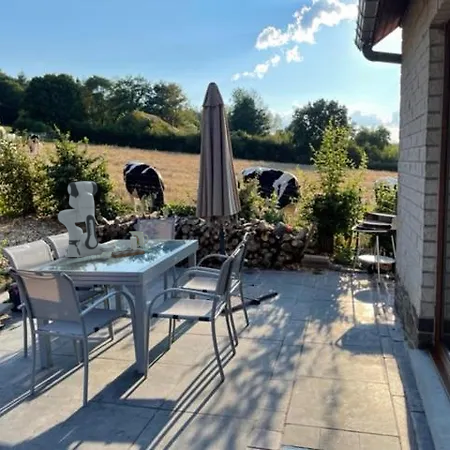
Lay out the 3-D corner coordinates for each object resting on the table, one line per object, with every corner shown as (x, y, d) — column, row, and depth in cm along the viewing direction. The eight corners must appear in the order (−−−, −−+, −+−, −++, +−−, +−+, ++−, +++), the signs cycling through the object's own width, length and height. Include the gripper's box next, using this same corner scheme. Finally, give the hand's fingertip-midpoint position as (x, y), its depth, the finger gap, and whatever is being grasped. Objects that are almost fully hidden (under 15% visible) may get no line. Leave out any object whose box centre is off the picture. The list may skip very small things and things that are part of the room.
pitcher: (146, 247, 417) (145, 232, 415) (127, 247, 420) (126, 232, 419) (150, 245, 427) (150, 230, 426) (132, 245, 431) (131, 230, 429)
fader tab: (133, 252, 383) (132, 237, 381) (130, 251, 388) (129, 237, 386) (137, 251, 385) (137, 237, 383) (135, 250, 390) (134, 236, 388)
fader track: (115, 257, 372) (115, 253, 372) (111, 256, 381) (110, 251, 380) (144, 253, 386) (144, 249, 386) (139, 252, 394) (139, 247, 394)
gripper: (102, 246, 360) (119, 244, 368) (93, 243, 377) (110, 241, 385) (102, 254, 361) (119, 252, 369) (94, 251, 378) (110, 249, 385)
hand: (114, 246), depth 377 cm, fingers closed
